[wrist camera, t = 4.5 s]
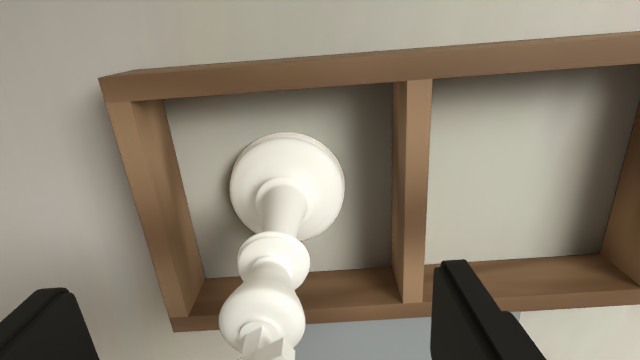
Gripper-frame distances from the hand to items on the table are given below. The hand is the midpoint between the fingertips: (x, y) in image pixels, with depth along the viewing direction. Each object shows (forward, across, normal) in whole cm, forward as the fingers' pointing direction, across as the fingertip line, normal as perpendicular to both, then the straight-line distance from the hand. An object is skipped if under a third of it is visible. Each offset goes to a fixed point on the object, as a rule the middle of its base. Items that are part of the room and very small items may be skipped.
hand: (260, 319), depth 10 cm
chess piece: (+7, 0, -1) cm, 7 cm away
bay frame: (+7, -5, -1) cm, 9 cm away
